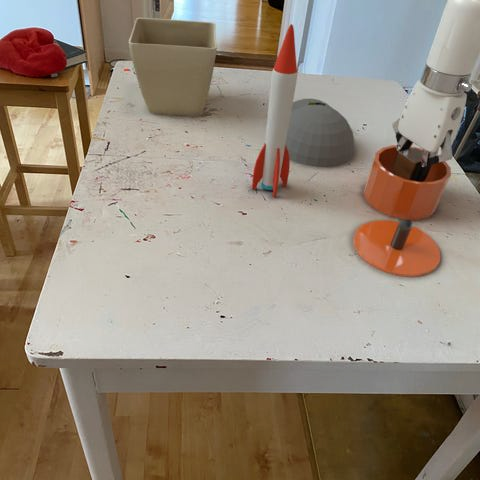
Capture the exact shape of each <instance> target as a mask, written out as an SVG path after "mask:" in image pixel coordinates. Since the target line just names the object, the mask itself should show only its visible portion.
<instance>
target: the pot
mask: <svg viewBox="0 0 480 480" xmlns="http://www.w3.org/2000/svg"><path fill="white" fill-rule="evenodd" d="M396 146H397V144H392V145H388V146H384V147H381V148H379V149H378V150H377V151H376V152H375V153H374V157H373V159H372V163H371V167H370V169H369V172H368V176H367V180H366V181H365V186H364V189H363V197H364V198H365V200H366V202H367V204H369V205H370V206H371V207H372V208H373V209H374V210H376V211H377V212H379V213H381V214H384V215H386V216H388V217H390V218H395V219H399V220H401V219H407V220H410V221H420V220H424V219H426V218H429V217H431V216H432V215H433V214H434V212H436V210H437V207H438V205H439V204H440V201H441V199H442V196H443V194H444V192H445V189H446V188H447V185H448V183H449V181H450V179H451V177H452V170H451V169H452V168H451V166H450V165H449V164H448V163H447V161H443V162H439V163H436V164H434V165H432V166H431V168H430V171H429V173H428V176H427V178H426V180H425V181H424V182H417V181H412V180H407V179H404V178H401V177H399V176H396V175H394V174H392V173H391V172H392V168H393V165H394V161H395V158H396V155H397V153H398V150H397V148H396ZM412 148H417V149H419V150H420V151H422V152H423V148H421V147H416V146H411V147H410V149H412ZM430 155H431V153H430ZM429 157H430V156H429Z"/></svg>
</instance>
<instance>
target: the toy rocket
mask: <svg viewBox="0 0 480 480" xmlns="http://www.w3.org/2000/svg"><path fill="white" fill-rule="evenodd" d="M295 41H296V39H295V28H294V25H293V23H291V24H289V26H288V28H287V31H286V33H285V36H284V39H283V42H282V44H281V46H280V50H279V53H278V55H277V58H276V61H275V63H274V66H273V68H272V72H271V79H270V89H269V99H268V109H267V118H266V129H265V138H264V144H263V146H262V147H261V149H260V151H259V153H258V156H257V158H256V160H255V164H254V167H253V173H252V183H251V190H252V191H255V190H256V189H257V186H258V185H259V183H260V186H261V188H262V189H264V190H267V191H272V197H273V198H274V199H276V198H277V193H278V188H279V185H280V180H281V184H282V187H283V188H287V187H288V180H289V174H290V165H291V164H290V162H291V160H290V159H289V153H288V149H287V147H286V139H287V133H288V127H289V122H290V116H291V110H292V105H293V102H294V99H295V94H296V93H295V92H296V87H297V81H298V65H297V54H296V42H295Z"/></svg>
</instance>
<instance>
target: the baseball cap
mask: <svg viewBox="0 0 480 480" xmlns="http://www.w3.org/2000/svg"><path fill="white" fill-rule="evenodd" d="M286 147H287V149H288V153H289V159H290V161H292V162H293V163H297V164H301V165H304V166H309V167H315V168H331V167H338V166H341V165H342V164H343V165H344V164H346V163H347V162H349V161H350V160H351V159H352V158H353V156H354V152H355V151H354V150H355V139H354V132H353V130H352V128H351V126H350V124H349V121H348V120H347V119H346V118H345V117H344V116H343V115H342V114H341V113H340V112H339V111H338V110H336V109H334V108H333V107H332V106H331V105H329V104H328V103H327V102H325V101H322V100H320V99H316V98H302V99H298V100H295V101H293V105H292V110H291V116H290V122H289V127H288V133H287V139H286Z"/></svg>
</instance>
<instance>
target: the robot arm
mask: <svg viewBox="0 0 480 480" xmlns="http://www.w3.org/2000/svg"><path fill="white" fill-rule="evenodd" d="M430 47H431V48H430V50H429V53H428V56H427V59H426V61H425V65H424V67H423V71H422V74H421V76H420V78H418V79H417V81H416V82H415V84H414V86H413V88H412V90H411V91H410V94H409V96H408V98H407V100H406V103H405V105H404V107H403V109H402V112H401V115H400V117H399V118H398V119H397V120H395V121H394V122H393V123H392V128H393V131H394V134H395V139H396V143H397V144H396V145H397V146H396V148H397V150H398V152H400V151H404V150H408V149H410V147H413V144H414V145H416V146H418V148H421V149H423V155H422V160H421V164H419V165H418V166H417V168H416V170H415V173H414V176H413V178H412V181H417V182H424V181H425V180H426V178H427V176H428V173H429V171H430V168H431V166H432V165H434V164H436V163H439V162H443V161H445V162H448V161H450V160H452V159H453V149H452V146H453V144H454V141H455V139H456V136H457V134H458V131H459V128H460V125H461V122H462V120H463V116H464V112H465V108H466V104H467V97H468V94H467V93H468V92H470V91H471V89H472V88H473V84H472V82H470V78H471V76H472V73H473V71H474V69H475V66H476V64H477V61H478V59H479V57H480V0H446V4H445V6H444V9H443V12H442V14H441V18H440V21H439V24H438V26H437V30H436V33H435V36H434V39H433V41H432V45H431V46H430ZM439 150H440V151H441V153H440V154H439ZM430 153H431V155H430ZM397 155H398V153H397ZM397 155H396V158H397ZM429 156H430V158H429ZM396 158H395V161H396ZM395 161H394V164H395ZM393 166H394V165H393ZM392 169H393V168H392Z"/></svg>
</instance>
